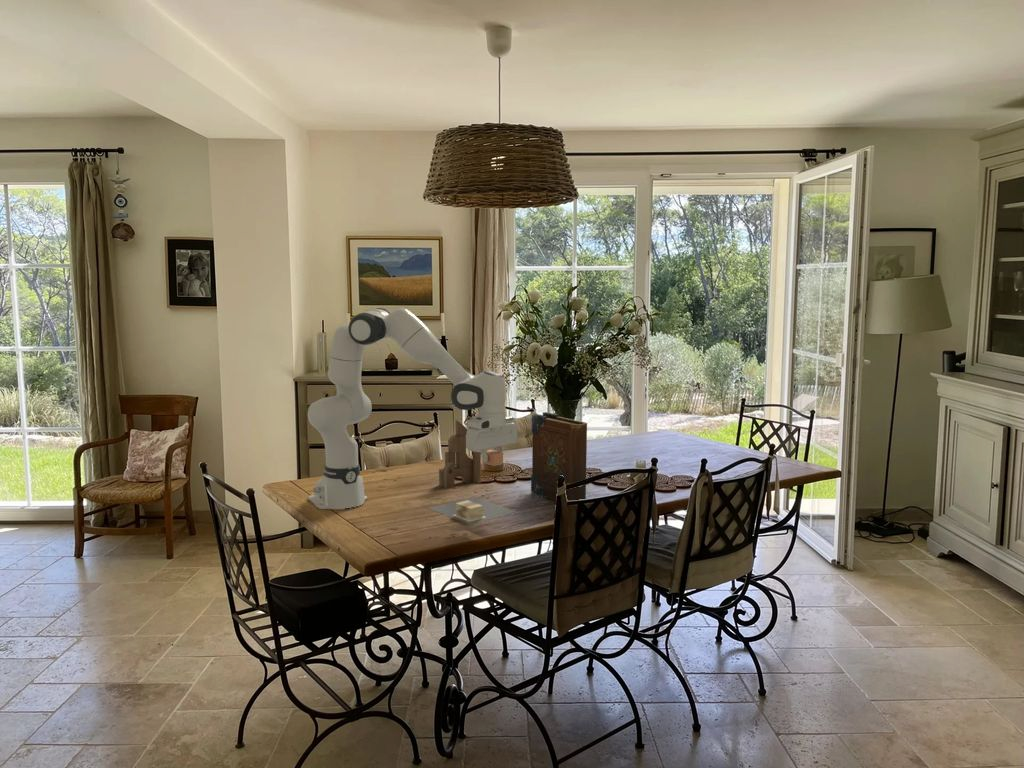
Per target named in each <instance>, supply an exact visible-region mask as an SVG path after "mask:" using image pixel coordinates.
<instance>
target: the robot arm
mask: <svg viewBox="0 0 1024 768" xmlns="http://www.w3.org/2000/svg"><path fill="white" fill-rule="evenodd" d="M387 338H390V339H392V340H393V341H394V342H395V343H396V344H397V345H398V346H399V347H400V348H401V350H402V351H403V352H404V353H406V355H407V356H409V357H410V358H411V359H413V360H414V361H415V362H416V363H421V364H426V365H430V366H433V367H434V368H437V369H438V370H439V371H440V372H441V373H442V374H443V375H444V376H446V378H447V379H448V380H449V381H450V382H451V383H452V384H453V385H454V386H453V387H452V390H451V392H450V400H451V402H452V405H453V406H454V407H455V408H457V409H459V410H463V411H469V410H474V409H479V413H478V414H477V415H475V416H474V417H471V418H470V419H468V420H467V421H466V425H467V427H468V428H467V429H468V430H467V433H466V435H465V436H466V450H468V451H470V452H473V451H480V452H481V457H482V456H483V461H484V462H489V461H490V456H487V453H486V452H487V450H491V449H494V448H498V450H497V451H499V452H503V453H504V451H505V449H506V446H510V445H514V444H515V445H516V444H517V443H518V441H519V440H518V439H519V437H518V428H517V420H516V418H514V417H513V416H509V417H507V409H506V400H507V385H506V380H505V377H504V376H503V375H502V373H500V372H497V371H491V370H483V371H481V372H480V373H479V374H477V375H474V374H472V373H470V372H469V371H467V370H466V369H465V367H463V365H461V364H460V362H459V361H458V360H456V359H455V358H454V357H453V356H452V354H450V353H449V352H448V351H447V350H446V348H445V347H444V345H442V344H441V342H440V340H439V339H437V337H436V336H435V334H434V333H433V332H432V331H431V330H430V328H429V327H428V326H427V325H426V324H425V323H424V322H423V321H422V320H421V319H420V318H418V317H417V316H416V315H415V314H414V313H413V312H411V311H410V310H409V309H407V308H405V307H400V308H396V309H394V310H392V311H389V310H387V308H382V307H381V308H380V307H379V308H378V307H377V308H372V309H367V310H365V311H363V312H361V313H357V314H356V315H355V316H353V317H352V318H351V320H350V321H349V324H343V325H342V324H341V325H340V326H338V327H337V328H336V329H335V331H334V334H333V337H332V341H331V344H330V345H331V346H330V352H329V360H328V368H327V369H328V371H327V376H328V380H329V381H330V382H331V383H332V384H334V385H335V387H336V395H332V396H327V397H323V398H320V399H318V400H315V401H314V402H312V403H311V404H310V405H309V406H308V409H307V419H308V422H309V424H310V425H311V426H312V427H313V428H314V429H316V431H318V433H319V434H320V435H321V438H322V440H323V443H324V449H325V451H324V452H325V465H323V476H322V477H321V478H319V479H318V481H317V482H315V484H314V487H313V494H310V495H309V496H308V498H307V499H308V500H309V501H310V502H311V503H312V504H313V505H314V506H315V505H316V506H317V507H318V508H319V509H318V508H317V507H316V506H315V507H316V508H317V509H318V510H344V509H343V508H350V509H352V508H351V507H355V508H357V507H356V506H358V507H360V506H359V505H361V506H362V504H363V503H365V501H367V500H368V496H367V495H365V489H364V478H363V477H362V476H360V474H361V467H360V464H359V445H358V442H357V440H356V439H354V438H353V437H351V436H350V434H349V433H348V428H347V426H350V425H355V424H359V423H360V422H363V421H365V420H366V419H368V418H369V416H371V414H372V410H373V409H372V407H373V406H372V401H371V399H370V398H369V396H367V394H366V393H365V392H364V389H363V386H362V369H363V360H364V359H363V358H364V350H365V346H369V345H372V344H377V343H379V342H381V341H383V340H385V339H387ZM366 499H367V500H366ZM363 505H364V504H363Z"/></svg>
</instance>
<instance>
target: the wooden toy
mask: <svg viewBox="0 0 1024 768" xmlns="http://www.w3.org/2000/svg"><path fill="white" fill-rule="evenodd" d="M467 430H468V428H467V427H466V426H465V425H464V424H463V423H461V422H460V420H457V419H456V420H455V434H452V435H451V436H450V437H449V438H448V440H447V442H448V443H447V450H448V451H446V452H444V467H443V468H439V469H438V475H439V476H438V482H439V486H441V487H442V488H445V489H446V490H447V489H453V488H455V478H457V477H461V480H462V482H463V483H465V484H469V483H473V484H476V483H478V484H482V469H481V468H482V465H481V463H482V454H481V452H480V451H472V457H469V456H468V454H467V447H466V433H467Z"/></svg>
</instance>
